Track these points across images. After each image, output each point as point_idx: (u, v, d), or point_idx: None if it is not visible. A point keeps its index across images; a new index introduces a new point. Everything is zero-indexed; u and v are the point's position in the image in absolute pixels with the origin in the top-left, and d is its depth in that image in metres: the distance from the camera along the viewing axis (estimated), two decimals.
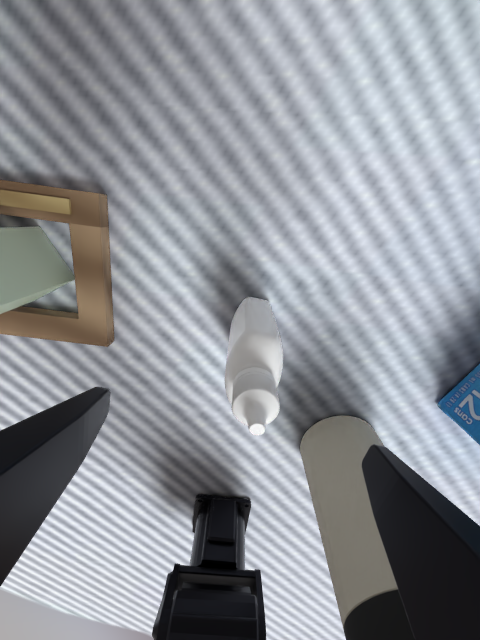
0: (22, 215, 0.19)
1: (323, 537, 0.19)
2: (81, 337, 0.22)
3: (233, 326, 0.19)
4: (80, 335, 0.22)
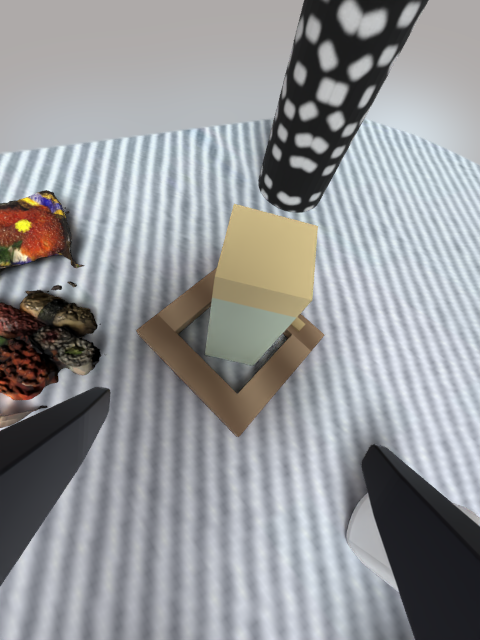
0: None
1: None
2: (223, 410, 0.20)
3: None
4: (224, 408, 0.21)
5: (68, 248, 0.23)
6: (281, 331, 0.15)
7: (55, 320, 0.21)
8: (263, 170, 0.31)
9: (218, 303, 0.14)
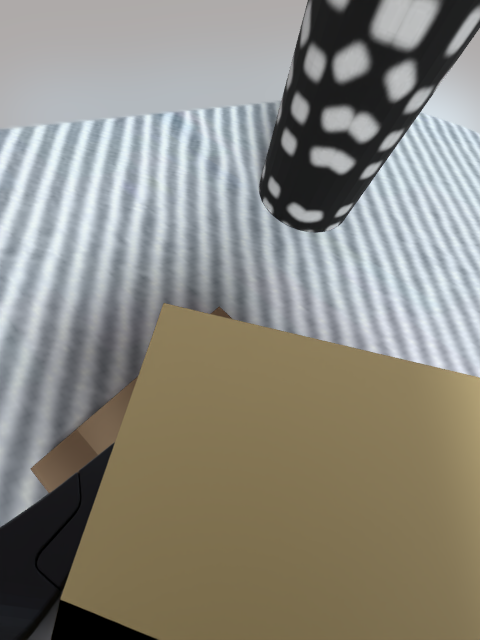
0: None
1: None
2: None
3: None
4: None
5: None
6: None
7: None
8: (266, 170, 0.20)
9: None
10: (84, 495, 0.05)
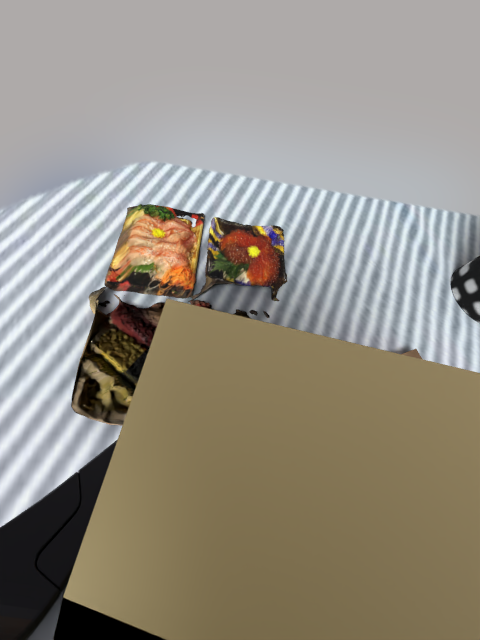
0: None
1: None
2: None
3: None
4: None
5: (281, 285, 0.25)
6: None
7: None
8: (469, 273, 0.29)
9: None
10: (84, 495, 0.05)
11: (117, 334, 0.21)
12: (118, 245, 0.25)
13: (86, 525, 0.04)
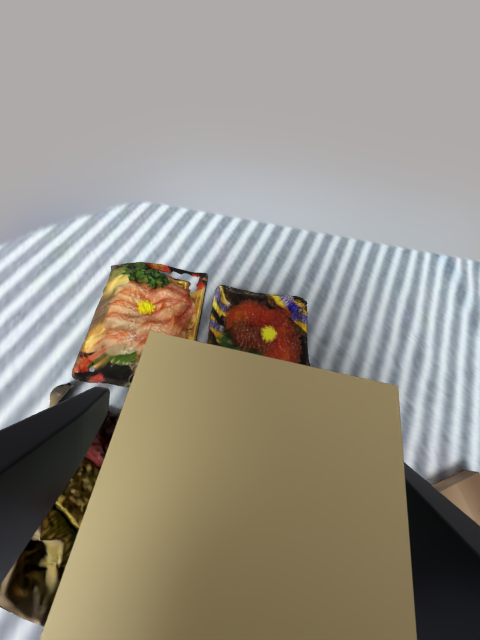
0: None
1: None
2: None
3: None
4: None
5: None
6: None
7: None
8: None
9: None
10: None
11: None
12: (94, 319, 0.20)
13: None
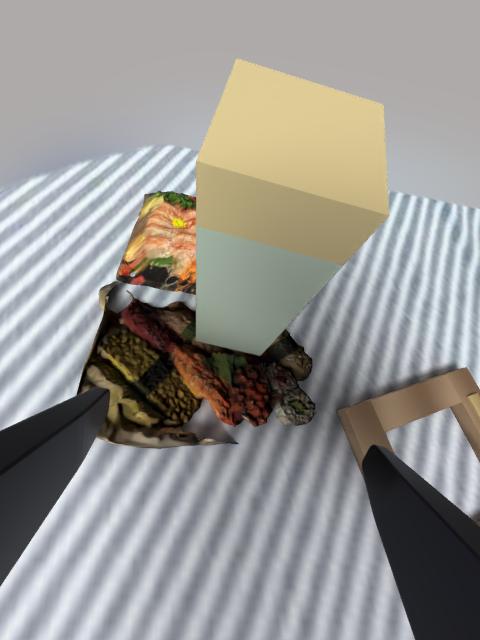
0: None
1: None
2: None
3: None
4: None
5: None
6: (310, 296, 0.10)
7: (284, 358, 0.19)
8: None
9: (208, 239, 0.08)
10: None
11: (129, 336, 0.18)
12: (133, 235, 0.22)
13: None
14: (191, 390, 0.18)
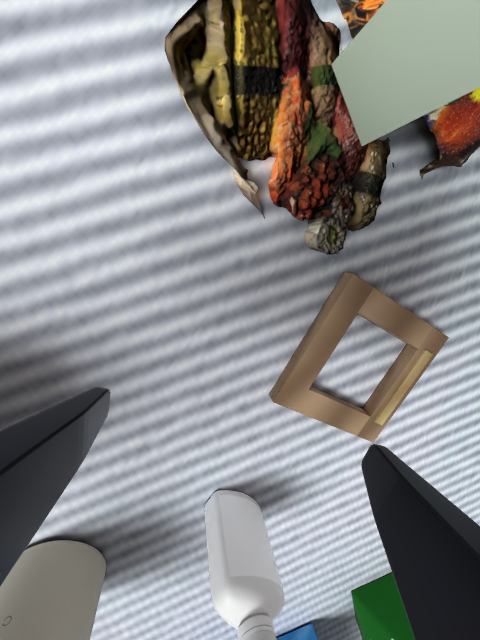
0: (391, 388, 0.24)
1: None
2: (292, 383, 0.21)
3: (258, 528, 0.23)
4: (294, 383, 0.21)
5: (449, 164, 0.18)
6: None
7: (360, 193, 0.18)
8: None
9: None
10: None
11: (269, 8, 0.14)
12: None
13: None
14: (272, 135, 0.16)
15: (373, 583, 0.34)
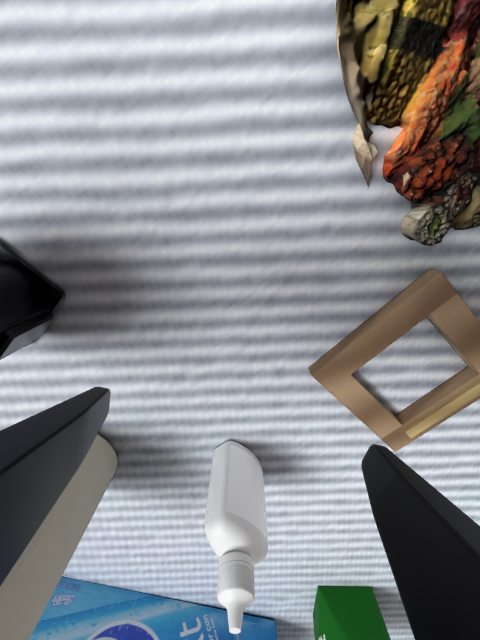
0: (435, 404, 0.22)
1: None
2: (337, 363, 0.21)
3: (258, 486, 0.24)
4: (339, 364, 0.21)
5: None
6: None
7: None
8: None
9: None
10: None
11: None
12: None
13: None
14: (410, 102, 0.15)
15: (342, 588, 0.34)
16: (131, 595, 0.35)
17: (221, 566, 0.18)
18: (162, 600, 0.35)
